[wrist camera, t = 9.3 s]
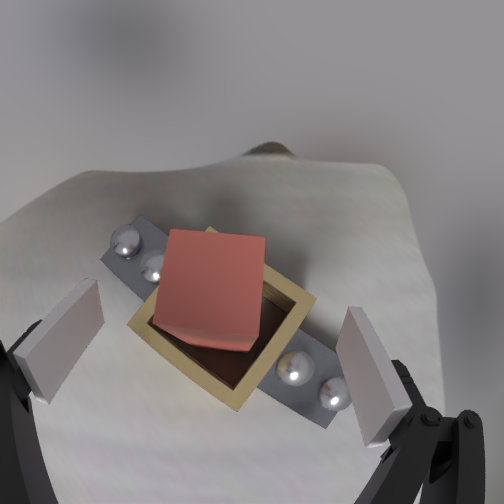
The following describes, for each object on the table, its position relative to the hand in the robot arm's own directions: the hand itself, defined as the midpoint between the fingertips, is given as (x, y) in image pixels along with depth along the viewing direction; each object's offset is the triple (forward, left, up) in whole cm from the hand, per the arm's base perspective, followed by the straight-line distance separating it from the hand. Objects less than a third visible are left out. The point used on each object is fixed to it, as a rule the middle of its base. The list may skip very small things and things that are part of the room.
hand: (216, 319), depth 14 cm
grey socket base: (-1, +1, -7) cm, 7 cm away
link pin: (-1, +1, -7) cm, 7 cm away
